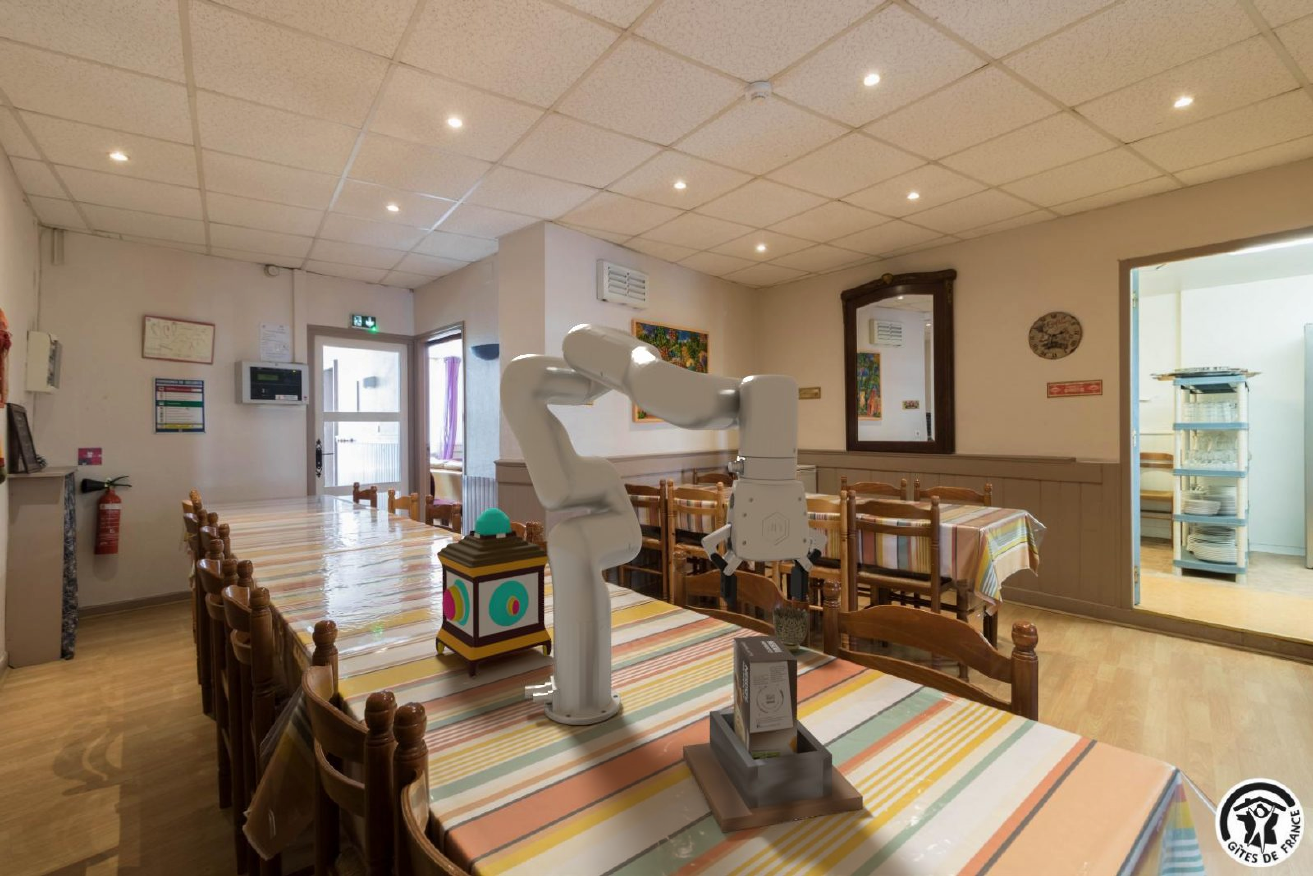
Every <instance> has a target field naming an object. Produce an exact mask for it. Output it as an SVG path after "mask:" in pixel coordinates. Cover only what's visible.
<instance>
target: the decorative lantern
mask: <svg viewBox="0 0 1313 876" xmlns="http://www.w3.org/2000/svg"><path fill="white" fill-rule="evenodd" d="M511 528H512V527H511V521H510V518H509V516H508V515H506V513H504V512H503V511H502V510H501V509H499V508H495V507H490V508H487V509H485V510H484V511H483V512H482V513H481V514H480V515H479V516H478V517H477V518H476V520H475V525H474V530H469V534H467V535H465V536H464V537H463V538H462V539H459V540H458V541H457V542H451V543H448V544H447V545H446V546H445V547H443V548H441V549H440V551H438V552H436V556H437V559H438V561H439V562H440V564H441V569H442V571H441V572H442V575H441V576H442V601H441V603H442V605H441V606H442V623H441V626H440V628H439V630H438V632H437V634H436V636H435V650H436V653H438V654H443V653H444V652H445V648H446V649H448V650H449V651H451V652H452V653H454V654H455V655H456V656H457V657H460V659H462V660H464V661H465V663H466V664H467V671H468V676H469V677H470V678H471V679H474V678H476V676H477V671H478V666H479V665H480V664H481V663H482V662H485V661H489V660H492V659H496V658H500V657H503V656H507V655H510V654H515V653H518V652H522V651H526V650H528V649H533V648H537V647H540V646H541V647H542V654H543V656H544V657H549V656H550V655H551V653H552V649H553V648H552V647H553V644H552V643H553V642H552V638H551V636H550V634H549V632H548V631H547V628H546V625H545V624H546V623H545V568H546V566H547V563H548V562H549V561H548V556H547V550H545V549H544V548H541V547H540V545H539V544H535V543H532V542H529V541H528V540H526V539H523V537H522V536H521V535H518V534H517V531H516V530H512V529H511Z"/></svg>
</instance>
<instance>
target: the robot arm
mask: <svg viewBox="0 0 1313 876" xmlns="http://www.w3.org/2000/svg"><path fill="white" fill-rule="evenodd" d="M561 351H562V352H561V353H562V356H563V357H562V356H557V355H556V356H555V355H550V354H538V353H537V354H535V353H534V354H524V355H520V356H517V357H514V358H513V359H511V361H509V362H508V364H507V365H506V366H505V368H504V370H503V372H502V375H501V379H500V384H499V399H500V406H501V408H502V409H501V410H502V412H503V414H504V417H505V420H506V422H507V424H508V426H509V427H510V429H511V431H512V433H513V436H514V437H515V439H516V441H517V443H518V446H519V448H520V450H521V454H522V457H523V461H524V462H525V463H524V464H525V466H526V468H527V471H528V474H529V477H530V480H531V483H532V485H533V488H534V491H535V494H536V496H537V499H538V501H539V502H540V505H541V506H542V508H543V509H544V510H546V511H547V512H549V513H555V514H564V513H570V512H578V511H585V510H586V511H587V514H583V515H576V516H572V517H569V518H565V519H564V520H562V521H560V522H559V523H557V524H556V525H554V526H553V528H552V529H551V531H549V534H548V537H547V539H546V540H547V541H546V553H547V556H548V561H547V562H548V566H549V570H550V576H551V585H552V586H551V587H552V615H553V619H552V620H553V623H552V625H553V627H552V628H553V631H552V632H553V635H552V636H553V642H552V643H553V644H552V647H553V648H552V649H553V673H552V674H553V675H550V677H549V678H550V681H546V682H544V684H541V685H540V684H537V685H536V684H531V685H525V686H524V698H525V699H526V700H527V699H532V703H533V704H539V703H543V711H544V714H545V715H546V716H547V717H548V718H549V719H551V720H553V721H554V722H557V723H560V724H565V725H573V726H584V725H591V724H593V725H594V724H598V723H600V722H603V721H606V720H608V719H610V718H611V717H613V716H615V715H616V714H617V713H618V712H619V711H620V708H621V704H622V700H621V695H620V694H619V693H618V692H617V691H616V690H615V689H613V688H612V597H611V593H610V589H609V587H608V586H607V583H606V581H605V579H604V577H603V573H602V571H605V570H607V569H611V568H615V567H618V566H620V565H624V564H626V563H629V562H631V561H633V560H634V559H635V558H637V556H639V555H638V554H639V553H640V551H641V548H642V546H643V545H642V543H643V534H642V528H641V525H640V522H639V518H638V517H637V514H636V511H635V509H634V506H633V504H632V501H631V499H630V496H629V494H628V491H627V488H626V486H625V484H624V481H623V479H622V477H621V475H620V472H619V471H618V469H617V467H616V466H615V465H614V464H613V463H612V462H611V461H610V460H608V459H607V458H605V457H603V456H599V455H579V454H578V453H577V451H576V450H575V448H574V445H573V444H572V442H571V438H570V436H569V435H570V434H569V433H568V431H567V429H566V427H565V425H563V423H562V422H561V420H559V418H558V417H557V415H555V414H554V413H553V412H552V411H551V410H550V408H549V407H548V405H554V406H577V407H579V406H583V405H587V404H590V403H592V402H595V400H597V399H599V398H601V397H602V396H604V395H606V394H608V393H609V392H611V391H613V390H614V391H616V392H619V393H621V394H622V395H625V396H627V397H628V398H629V400H630V401H631V402H632V403H633V405H635V407H637V408H638V409H640V410H641V411H642V412H645V413H646V414H649V415H650V416H652V417H655V418H657V419H658V420H659V419H660V420H661V421H664V422H666V423H668V424H670V425H673V426H676V427H678V428H681V429H683V430H689V431H735V430H738V455H737V456H736V460H734V461H729V462H728V463H727V464H728V465H727V469H728V472H729V473H734V474H736V476H737V479H733V481H732V485H731V489H730V494H729V499H728V506H727V513H726V522H725V523H726V524H725V525H724V526H722V527H720V528H718V529H716V530H715V531H713V532H711V533H710V534H708V535H706V536H704V537H702V538H701V541H700V543H701V545H702V547H703V550H704V552H705V553H706V554H707V558H708V560H709V561H710V562H712V564H714V566H715V567H716V568H717V570H719V571H720V583H719V584H720V589H719V593H720V597H721V598H722V599H723V602H725V603H726V604H727V605H729V607H735V606H737V604H738V575H736V574H735V571H736V570H737V568H738V567H739V566H740V565H741V563H742V562H744V561H745V562H772V561H773V562H776V561H778V562H779V561H792V562H793V563H794V566H791V568H790V596H791V597H792V598H795V600H797V601H799V602H800V603H805V602H807V594H808V593H809V581H810V580H809V579H810V578H809V577H810V573H809V572H811V571H813V568H814V565H815V563H817V561H819V559H820V558H821V557H822V552H823V551H824V549H825V547H826V544H827V543H828V541H829V537H828V535H826V534H823V532H820V531H818V530H816V529H815V528H813V527H811V526H810V525H809V524H810V523H809V514H808V513H809V511H808V504H807V498H806V492H805V486H804V482H803V481H799V480H798V441H799V440H798V438H799V437H798V436H799V434H798V433H799V428H798V427H799V397H800V394H799V393H800V392H799V391H800V390H799V389H800V388H799V384H798V381H797V380H796V378H794V377H793V376H790V375H785V374H774V373H773V374H768V373H767V374H754V375H753V374H752V375H748V376H746V377H744V378H740V377H732V376H725V375H720V374H713V373H706V372H697V371H694V370H690V369H688V368H685V367H682V366H679V365H676V364H674V363H671V362H669V361H667V360H665V359H664V360H663V358H662V355H661V352H660V351H659V349H658V348H657V347H656V346H654V345H653V344H650V343H648V342H646V341H642V340H640V339H639V338H638V337H637V336H635V334H633V333H632V332H629V331H627V330H625V329H620V328H616V327H610V326H607V325H606V326H605V325H602V324H596V323H583V324H579V325H577V326H574V327H573V328H572V329H570V330H569V331H568V332H567V333H566V335H565V336H564V338H563V340H562V344H561ZM810 539H811V544H810ZM723 541H725V549H726V553H725V554H724V555H723V556H721V555H720V554H719V552H718V549H717V546H718V544H719V543H722V542H723Z"/></svg>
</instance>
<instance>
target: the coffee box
mask: <svg viewBox="0 0 1313 876" xmlns="http://www.w3.org/2000/svg"><path fill="white" fill-rule="evenodd" d="M732 642H733V709H734V733H735V735H736V736H737V737H738V739H739V740H740V742H741V743H742V744H743V746H744V747H745V748H746V750H747V751H748V753H749V754H750V755H751V757H752V758H753V759H754V760H757V759H764V758H771V757H778V756H785V755H792V754H797V719H798V659H797V658H796V656H794V655H793V654H792V653H793V652H790V651H789V650H788V649H787V648H786V647H785V646H784V645H783V643H782V642H781V641H780V640H779V639H778V638H777V637H776V635H753V636H749V635H748V636H745V637H733V641H732Z"/></svg>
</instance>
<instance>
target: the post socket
mask: <svg viewBox="0 0 1313 876" xmlns="http://www.w3.org/2000/svg"><path fill="white" fill-rule="evenodd" d="M682 757H683V759H684V761H685V764H686V765H687V767H688V769H689V770H690V773H691V774H692V776H693V778H694V780H695V783H696V784H697V786H698V787H699V789H700V792H701V794H702V797H704V800H705V801H706V803H707V805H708V807H709V809H710V811H711V813H712V815H713V818H715V821H716V823H717V824H718V827H719V828H720V830H721V833H728V832H735V831H741V830H746V829H752V828H753V829H754V828H757V827H764V826H769V825H775V824H780V823H781V824H782V823H786V821H788V822H791V821H790V820H793V821H796V820H795V819H799V820H803V819H802V818H805V819H807V818H806V817H811V818H813V817H812V816H817V817H819V816H818V815H822V816H827V815H826V814H828V815H832V814H833V813H834V814H839V813H845V812H844V811H846V812H849V810H851V811H857V810H861V809H862V810H863V809H864V808H863V805H864V803H863V802H864V796H863V795H862V793H860V791H858V789H856V788H855V786H853V784H852V783H851V782H849V780H848V779H847V778H846V777H845V776H844V775H843V774H842V772H841V771H840V770H838V769H837V768H836V766H835V765H834V764H833V754H832V753H831V752H830V751H829V750H828V749H827V748H826V747H825V746H824V745H823V744H822V743H821V741H819V740H818V739H817V738H816V737H815V736H814V735H813V733H812V732H811V731H810V730H808V728H807V727H806V726H805V725H804V724H803V723H802V722H801V721H800V720H799V719H798V718H797V754H792V755H785V756H778V757H771V758H764V759H757V760H754V759H753V758H752V757H751V755H750V754H749V753H748V751H747V750H746V748H745V747H744V746H743V744H742V743H741V742H740V740H739V739H738V737H737V736H736V735H735V733H734V708H727V709H726V708H725V709H718V710H712V711H711V710H710V711H709V742H705V743H697V744H688V745H683V746H682ZM837 812H839V813H837ZM834 814H833V815H834Z"/></svg>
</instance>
